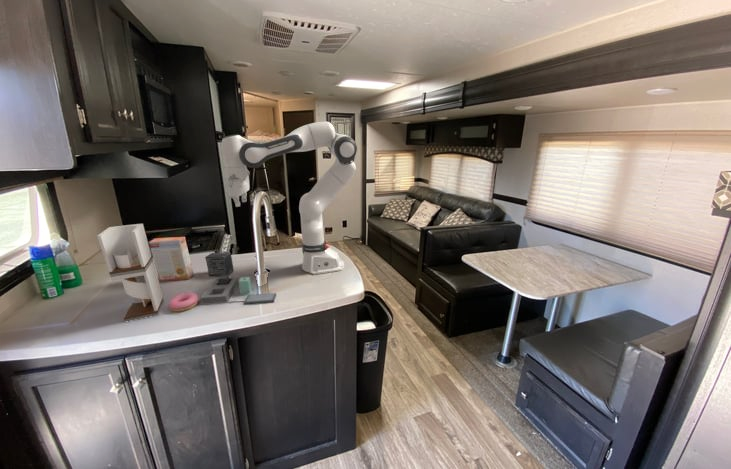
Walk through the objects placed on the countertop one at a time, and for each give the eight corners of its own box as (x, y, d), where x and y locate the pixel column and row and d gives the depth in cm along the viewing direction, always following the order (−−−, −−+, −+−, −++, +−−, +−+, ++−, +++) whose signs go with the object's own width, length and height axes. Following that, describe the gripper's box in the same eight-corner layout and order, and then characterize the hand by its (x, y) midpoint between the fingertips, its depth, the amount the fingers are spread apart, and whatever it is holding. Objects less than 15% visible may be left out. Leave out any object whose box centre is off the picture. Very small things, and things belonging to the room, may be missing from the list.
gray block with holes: (239, 282, 140) (237, 271, 139) (226, 302, 124) (224, 290, 122) (217, 283, 139) (215, 273, 138) (202, 304, 122) (199, 292, 121)
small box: (234, 270, 153) (231, 252, 150) (228, 276, 147) (224, 257, 144) (216, 270, 154) (212, 252, 151) (208, 275, 148) (204, 256, 145)
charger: (252, 289, 134) (250, 276, 132) (249, 293, 130) (247, 280, 128) (243, 290, 133) (240, 277, 131) (240, 294, 130) (238, 281, 127)
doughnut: (187, 297, 129) (185, 288, 127) (205, 302, 125) (203, 293, 123) (163, 310, 119) (160, 301, 118) (181, 315, 115) (179, 306, 114)
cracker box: (194, 274, 150) (185, 236, 143) (188, 279, 144) (179, 240, 137) (165, 275, 149) (155, 237, 142) (158, 281, 143) (148, 241, 136)
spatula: (276, 295, 128) (276, 292, 128) (273, 302, 123) (273, 300, 122) (229, 298, 126) (228, 296, 126) (224, 306, 121) (224, 303, 120)
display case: (134, 307, 121) (109, 227, 110) (164, 301, 125) (142, 223, 114) (125, 322, 111) (96, 235, 100) (158, 315, 115) (134, 231, 104)
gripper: (236, 176, 119) (241, 209, 124) (250, 170, 138) (254, 199, 143) (220, 176, 119) (226, 209, 123) (236, 171, 138) (240, 199, 142)
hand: (241, 204), depth 133 cm, fingers open, 8 cm apart
